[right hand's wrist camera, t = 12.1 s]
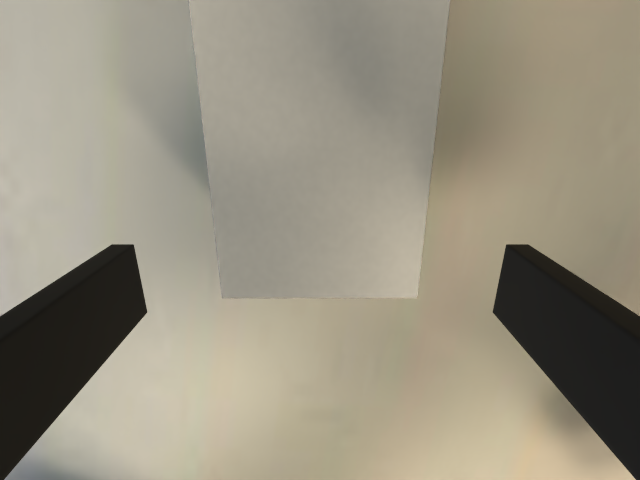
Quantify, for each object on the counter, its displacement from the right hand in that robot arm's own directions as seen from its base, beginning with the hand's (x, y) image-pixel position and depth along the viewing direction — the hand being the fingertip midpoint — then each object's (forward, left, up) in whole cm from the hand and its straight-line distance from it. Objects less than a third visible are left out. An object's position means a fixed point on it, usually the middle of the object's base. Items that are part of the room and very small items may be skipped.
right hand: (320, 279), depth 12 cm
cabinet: (+4, -2, -14) cm, 14 cm away
